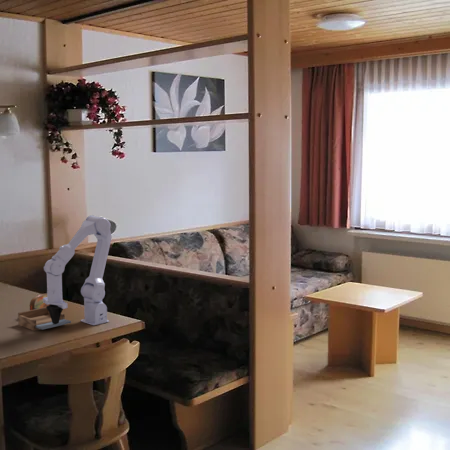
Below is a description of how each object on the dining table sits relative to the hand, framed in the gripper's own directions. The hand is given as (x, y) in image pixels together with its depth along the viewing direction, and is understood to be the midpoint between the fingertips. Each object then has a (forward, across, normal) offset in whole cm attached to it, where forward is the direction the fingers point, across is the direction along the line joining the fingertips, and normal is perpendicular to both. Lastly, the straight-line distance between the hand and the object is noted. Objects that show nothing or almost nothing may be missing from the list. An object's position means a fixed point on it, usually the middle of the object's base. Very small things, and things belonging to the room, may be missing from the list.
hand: (55, 323), depth 248 cm
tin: (+3, -24, +8) cm, 26 cm away
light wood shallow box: (+2, -10, 0) cm, 11 cm away
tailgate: (0, -4, 0) cm, 4 cm away
